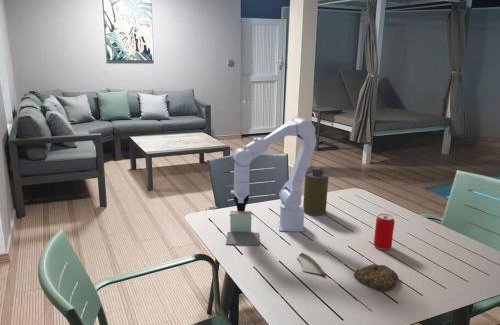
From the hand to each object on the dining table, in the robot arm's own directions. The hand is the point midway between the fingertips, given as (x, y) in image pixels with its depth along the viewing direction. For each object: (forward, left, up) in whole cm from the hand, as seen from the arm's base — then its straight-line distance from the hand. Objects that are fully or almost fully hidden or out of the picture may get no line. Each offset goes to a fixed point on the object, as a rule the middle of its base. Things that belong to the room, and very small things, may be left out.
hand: (241, 214), depth 154 cm
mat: (-1, +6, -7) cm, 10 cm away
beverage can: (-52, +10, -8) cm, 53 cm away
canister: (-32, -23, -8) cm, 40 cm away
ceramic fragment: (-24, +25, -8) cm, 36 cm away
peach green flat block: (0, 0, -7) cm, 7 cm away
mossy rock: (-44, +31, -8) cm, 55 cm away
